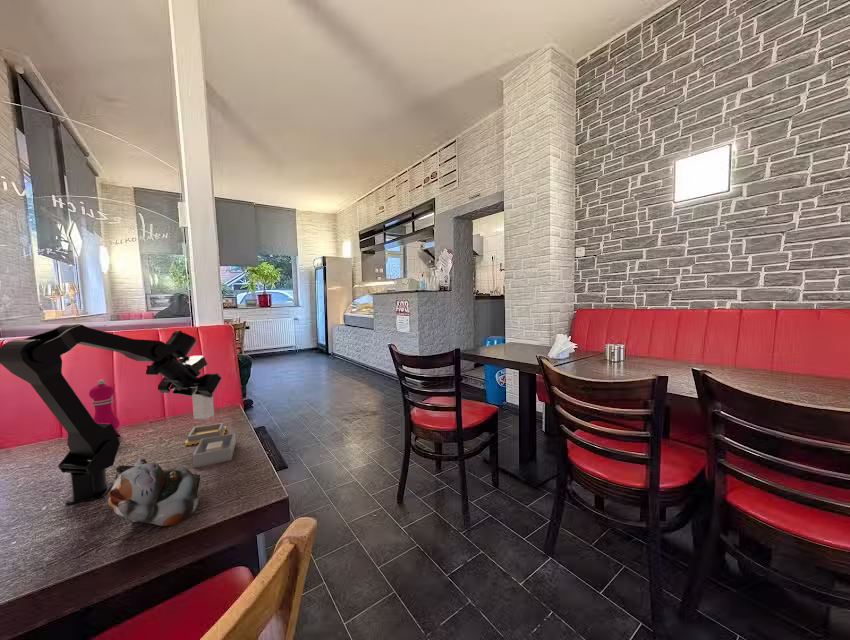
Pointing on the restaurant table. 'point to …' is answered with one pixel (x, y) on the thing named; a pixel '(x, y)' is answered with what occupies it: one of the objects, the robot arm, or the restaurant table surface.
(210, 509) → the restaurant table surface
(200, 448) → the light gray open tray
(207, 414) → the grey rectangular block
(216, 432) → the square tray
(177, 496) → the lucky cat figurine
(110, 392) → the pepper mill
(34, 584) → the restaurant table surface
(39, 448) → the restaurant table surface
